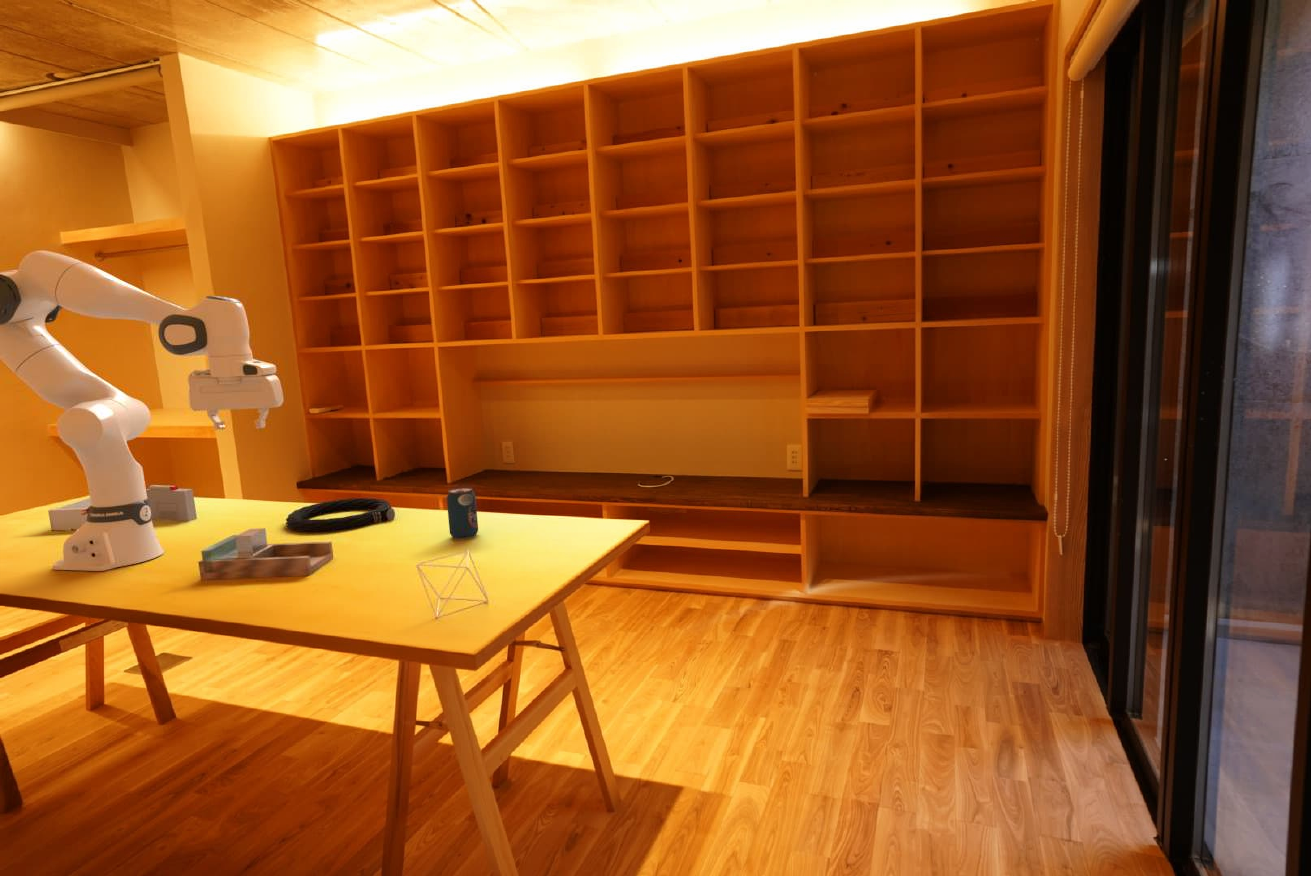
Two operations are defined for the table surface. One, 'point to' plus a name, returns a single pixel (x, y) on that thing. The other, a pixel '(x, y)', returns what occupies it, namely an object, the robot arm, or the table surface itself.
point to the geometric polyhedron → (449, 581)
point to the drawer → (265, 560)
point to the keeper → (250, 546)
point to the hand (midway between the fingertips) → (240, 428)
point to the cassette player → (171, 503)
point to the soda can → (462, 513)
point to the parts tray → (69, 515)
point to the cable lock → (378, 514)
